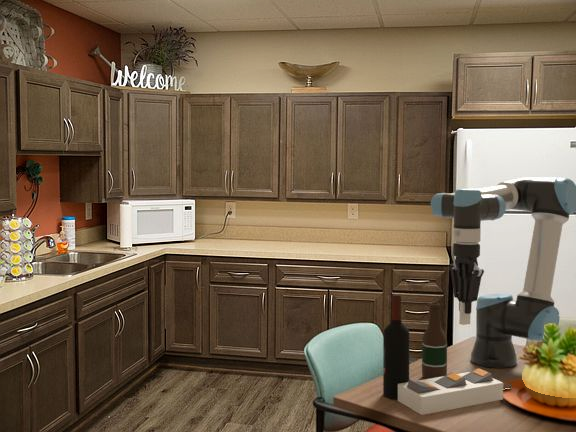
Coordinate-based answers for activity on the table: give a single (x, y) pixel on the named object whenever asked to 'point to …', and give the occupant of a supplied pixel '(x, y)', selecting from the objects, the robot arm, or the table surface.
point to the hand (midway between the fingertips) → (464, 323)
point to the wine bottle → (395, 352)
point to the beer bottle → (434, 346)
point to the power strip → (450, 395)
